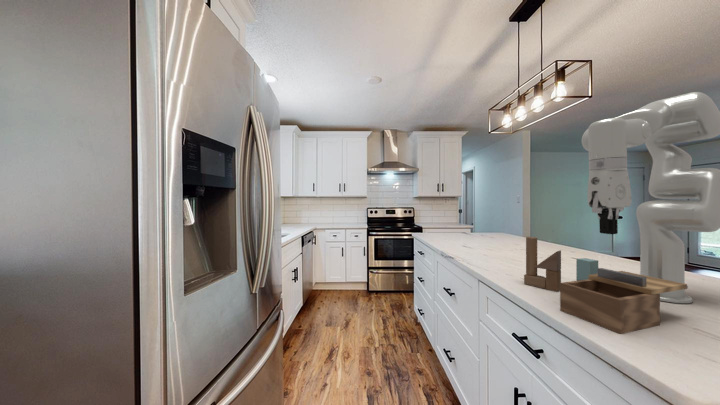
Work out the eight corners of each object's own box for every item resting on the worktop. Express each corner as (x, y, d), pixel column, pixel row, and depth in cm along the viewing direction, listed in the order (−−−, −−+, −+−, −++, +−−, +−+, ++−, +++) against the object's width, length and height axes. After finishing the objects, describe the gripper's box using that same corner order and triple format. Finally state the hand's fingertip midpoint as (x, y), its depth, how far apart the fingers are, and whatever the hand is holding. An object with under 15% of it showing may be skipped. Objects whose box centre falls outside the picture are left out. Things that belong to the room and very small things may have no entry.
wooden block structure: (557, 292, 91) (557, 240, 90) (523, 284, 99) (523, 236, 99) (561, 290, 93) (561, 239, 93) (528, 282, 101) (528, 236, 101)
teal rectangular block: (598, 296, 86) (598, 260, 86) (589, 298, 85) (589, 261, 85) (584, 292, 90) (584, 258, 90) (576, 294, 89) (576, 258, 89)
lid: (621, 274, 83) (621, 263, 83) (686, 288, 70) (687, 275, 70) (588, 278, 79) (588, 266, 79) (651, 294, 65) (651, 280, 65)
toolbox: (596, 304, 80) (596, 278, 80) (659, 325, 66) (659, 293, 66) (560, 310, 76) (560, 282, 75) (620, 333, 62) (620, 300, 62)
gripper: (604, 164, 65) (606, 237, 65) (643, 164, 69) (644, 233, 70) (572, 167, 72) (574, 234, 73) (609, 167, 77) (610, 230, 77)
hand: (608, 233), depth 71 cm, fingers closed
